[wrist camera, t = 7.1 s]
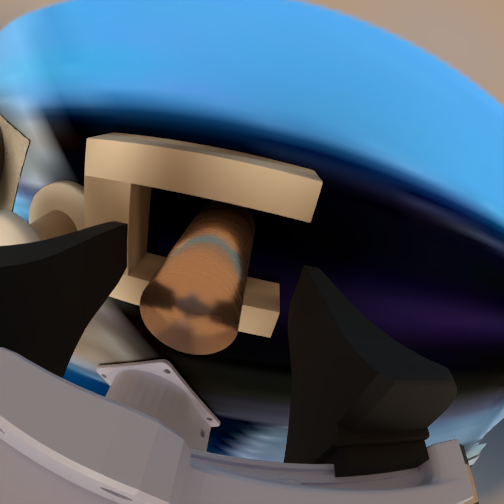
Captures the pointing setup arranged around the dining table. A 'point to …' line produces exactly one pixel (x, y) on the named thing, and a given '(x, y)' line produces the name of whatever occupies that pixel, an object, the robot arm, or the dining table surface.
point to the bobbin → (46, 215)
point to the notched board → (193, 183)
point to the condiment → (10, 162)
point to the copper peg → (202, 282)
